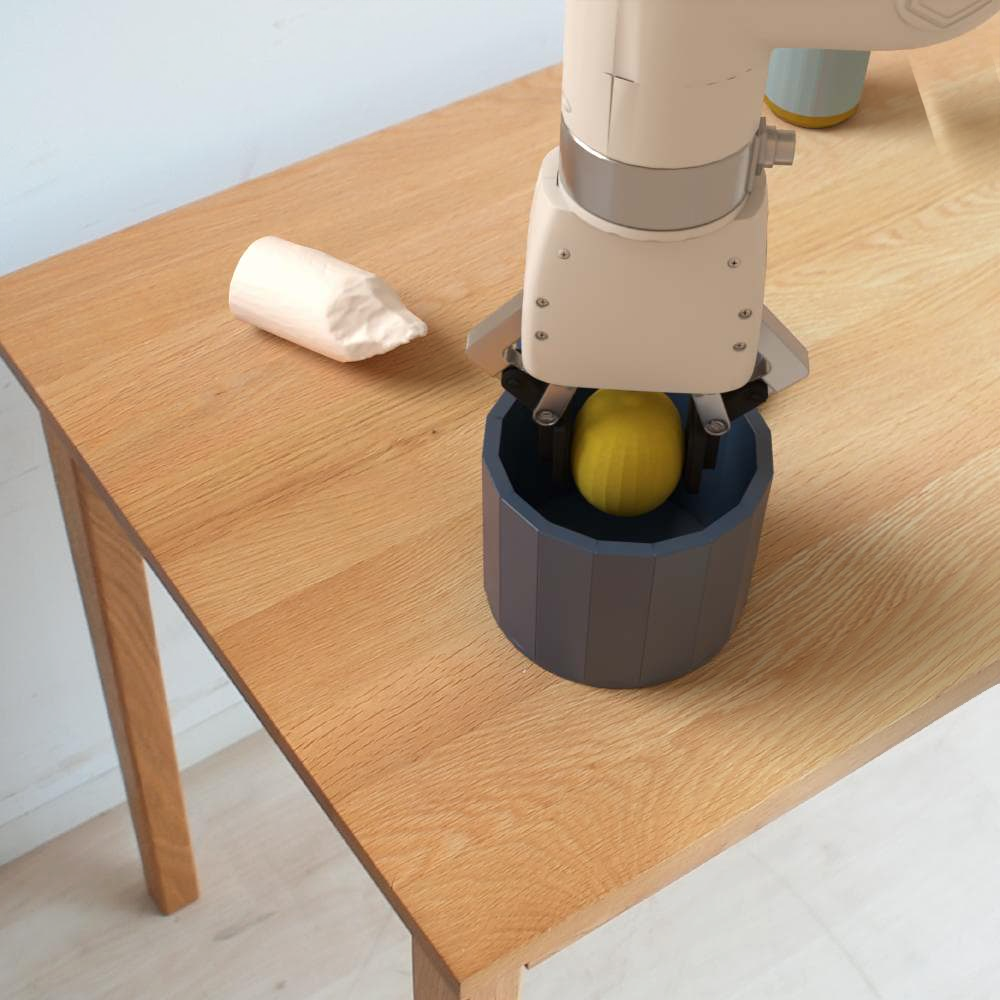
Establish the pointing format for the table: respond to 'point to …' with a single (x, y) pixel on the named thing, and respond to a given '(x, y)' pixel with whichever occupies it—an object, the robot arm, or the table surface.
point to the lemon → (627, 450)
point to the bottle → (815, 85)
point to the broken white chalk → (319, 301)
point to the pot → (619, 556)
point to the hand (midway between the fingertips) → (625, 466)
